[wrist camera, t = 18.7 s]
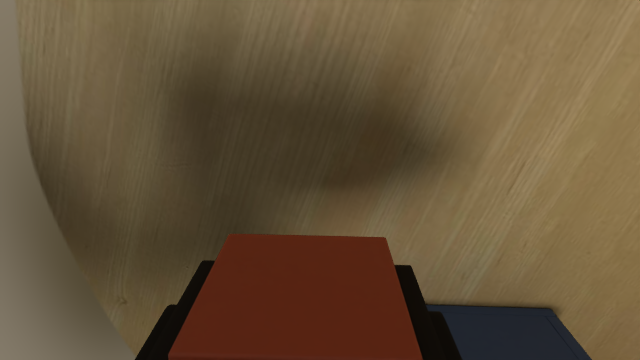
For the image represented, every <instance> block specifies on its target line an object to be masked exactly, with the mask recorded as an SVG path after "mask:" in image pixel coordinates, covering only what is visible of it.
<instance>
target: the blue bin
mask: <svg viewBox="0 0 640 360" xmlns="http://www.w3.org/2000/svg"><path fill="white" fill-rule="evenodd" d="M426 307H427V309H428V311H440V312H441V313H442V314H443V316H444V318H445V320H446V322H447V325H448V327H449V329H450V332H451V334H452V336H453V339H454V341H455V343H456V346H457V348H458V350H459V353H460V355H461V357H462V360H592V359H591V358H590V357H589V356H588V354H587V353H586V352H585V351H584V349H583V348H582V347H581V346H580V344H579V343H578V342H577V341H576V339H575V338H574V337H573V336H572V335H571V333H570V332H569V331H568V330H567V328H566V327H565V326H564V325H563V323H562V322H561V321H560V320H559V318H558V317H557V316H556V315H555V313H554V312H553V311H552V310H551V309H540V308H508V307H476V306H444V305H426Z"/></svg>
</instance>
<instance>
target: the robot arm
mask: <svg viewBox="0 0 640 360" xmlns="http://www.w3.org/2000/svg"><path fill="white" fill-rule="evenodd" d="M214 263H215V261H208V260H203V261H202V262H201V263H200V265H199V267H198V269H197V270H196V272H195V274H194V276H193V277H192V279H191V281H190V283H189V285H188V286H187V288H186V290H185V292H184V293H183V295H182V297H181V299H180V300H179V302H178V304H177V305H169V306H167V308H166V309H165V310H164V312H163V314H162V315H161V317H160V319H159V320H158V322H157V324H156V325H155V327H154V329H153V330H152V332H151V334H150V335H149V337H148V339H147V340H146V342H145V344H144V345H143V347H142V349H141V350H140V352H139V354H138V355H137V357H136V359H135V360H169V358H168V354H169V352H170V350H171V348H172V346H173V344H174V342H175V340H176V338H177V336H178V334H179V332H180V330H181V328H182V326H183V324H184V322H185V320H186V318H187V316H188V314H189V312H190V310H191V308H192V306H193V304H194V302H195V300H196V298H197V296H198V294H199V292H200V290H201V288H202V286H203V284H204V282H205V280H206V278H207V276H208V274H209V272H210V271H211V269H212V267H213V265H214ZM394 266H395V270H396V273H397V276H398V279H399V283H400V286H401V289H402V293H403V296H404V299H405V302H406V306H407V309H408V312H409V316H410V319H411V322H412V326H413V329H414V332H415V335H416V339H417V342H418V345H419V349H420V352H421V355H422V358H423V360H462V357H461V355H460V353H459V350H458V348H457V346H456V343H455V341H454V339H453V336H452V334H451V332H450V329H449V327H448V325H447V322H446V320H445V318H444V316H443V314H442V313H441V312H440V311H428V309H427V307H426V304H425V301H424V299H423V296H422V293H421V291H420V288H419V285H418V283H417V280H416V277H415V275H414V272H413V269H412V267H411V266H410V265H394Z"/></svg>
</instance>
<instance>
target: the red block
mask: <svg viewBox="0 0 640 360" xmlns="http://www.w3.org/2000/svg"><path fill="white" fill-rule="evenodd" d="M168 358H169V360H423V358H422V355H421V352H420V349H419V345H418V342H417V339H416V335H415V332H414V329H413V326H412V322H411V319H410V316H409V312H408V309H407V306H406V302H405V299H404V296H403V293H402V289H401V286H400V283H399V279H398V276H397V273H396V270H395V266H394V263H393V260H392V256H391V253H390V250H389V246H388V243H387V240H386V238H384V237H351V236H308V235H265V234H229V235H228V237H227V239H226V241H225V243H224V245H223V247H222V249H221V251H220V253H219V255H218V257H217V259H216V261H215V263H214V265H213V267H212V269H211V271H210V272H209V274H208V276H207V278H206V280H205V282H204V284H203V286H202V288H201V290H200V292H199V294H198V296H197V298H196V300H195V302H194V304H193V306H192V308H191V310H190V312H189V314H188V316H187V318H186V320H185V322H184V324H183V326H182V328H181V330H180V332H179V334H178V336H177V338H176V340H175V342H174V344H173V346H172V348H171V350H170V352H169V354H168Z"/></svg>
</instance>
